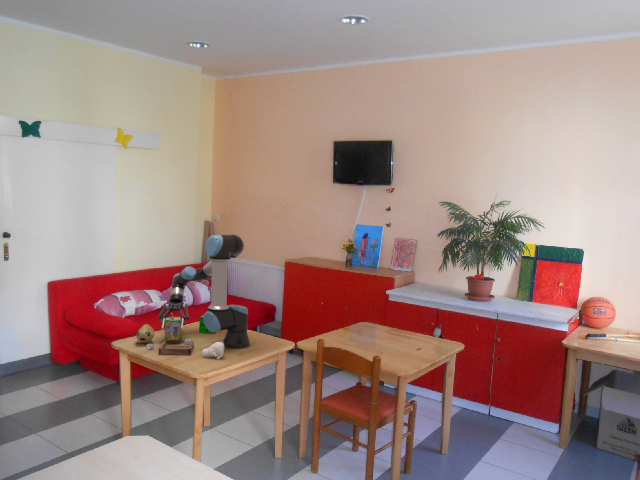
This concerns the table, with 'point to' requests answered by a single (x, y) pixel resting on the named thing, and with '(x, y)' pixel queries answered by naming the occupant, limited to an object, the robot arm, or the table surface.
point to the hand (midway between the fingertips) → (172, 329)
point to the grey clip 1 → (149, 347)
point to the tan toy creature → (145, 334)
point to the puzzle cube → (204, 327)
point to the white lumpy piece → (214, 350)
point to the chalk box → (173, 328)
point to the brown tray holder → (175, 349)
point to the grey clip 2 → (187, 341)
